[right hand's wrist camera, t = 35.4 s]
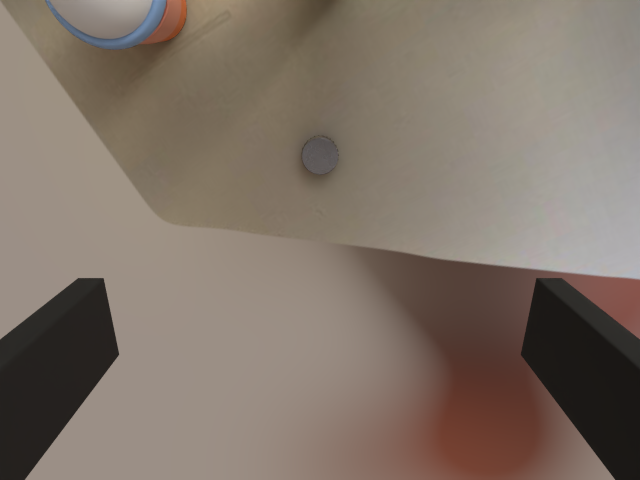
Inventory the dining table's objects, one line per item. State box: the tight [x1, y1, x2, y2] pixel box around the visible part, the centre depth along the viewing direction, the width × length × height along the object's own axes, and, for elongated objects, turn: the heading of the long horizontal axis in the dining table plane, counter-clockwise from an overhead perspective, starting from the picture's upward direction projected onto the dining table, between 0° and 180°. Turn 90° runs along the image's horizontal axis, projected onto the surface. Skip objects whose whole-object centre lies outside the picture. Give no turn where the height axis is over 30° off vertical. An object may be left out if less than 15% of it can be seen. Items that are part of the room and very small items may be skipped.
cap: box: [302, 135, 339, 174], centre depth 43 cm, size 4×4×2 cm
